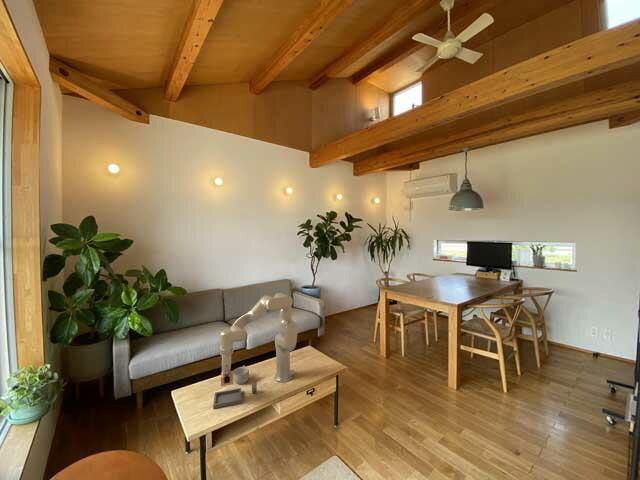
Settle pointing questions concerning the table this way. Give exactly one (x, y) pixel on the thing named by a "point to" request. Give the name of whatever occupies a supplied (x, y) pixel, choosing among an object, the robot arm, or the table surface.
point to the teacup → (241, 375)
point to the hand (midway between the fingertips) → (227, 379)
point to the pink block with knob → (230, 378)
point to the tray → (227, 398)
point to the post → (254, 387)
